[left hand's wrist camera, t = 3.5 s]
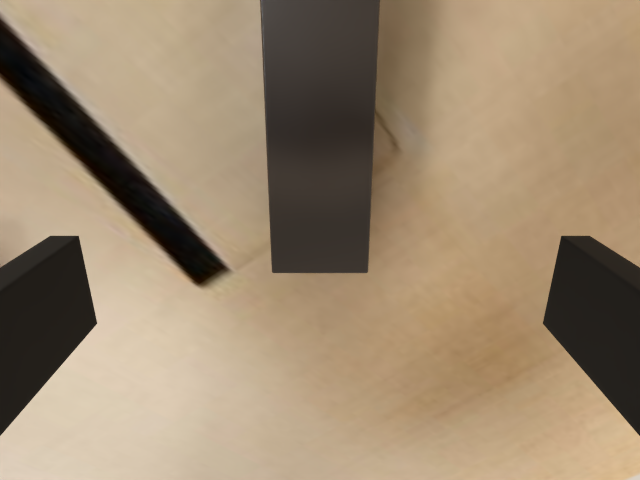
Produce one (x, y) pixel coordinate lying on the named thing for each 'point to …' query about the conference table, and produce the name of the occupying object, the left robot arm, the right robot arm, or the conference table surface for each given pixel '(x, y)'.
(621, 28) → the conference table surface
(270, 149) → the metal bar
